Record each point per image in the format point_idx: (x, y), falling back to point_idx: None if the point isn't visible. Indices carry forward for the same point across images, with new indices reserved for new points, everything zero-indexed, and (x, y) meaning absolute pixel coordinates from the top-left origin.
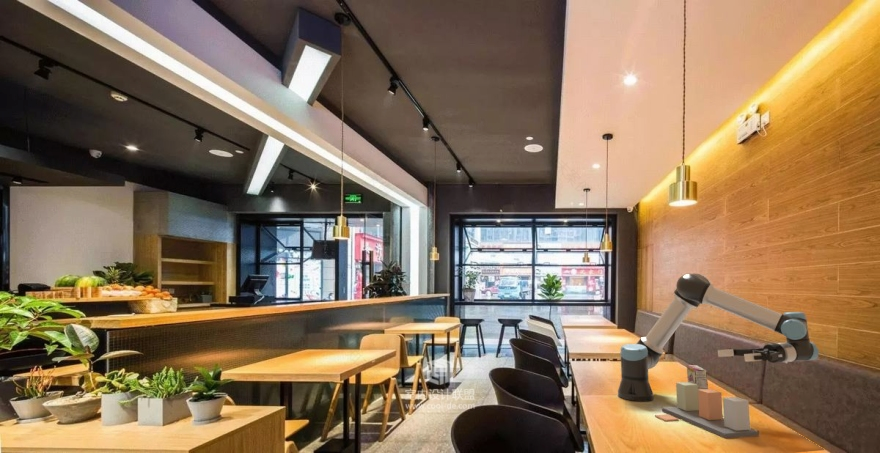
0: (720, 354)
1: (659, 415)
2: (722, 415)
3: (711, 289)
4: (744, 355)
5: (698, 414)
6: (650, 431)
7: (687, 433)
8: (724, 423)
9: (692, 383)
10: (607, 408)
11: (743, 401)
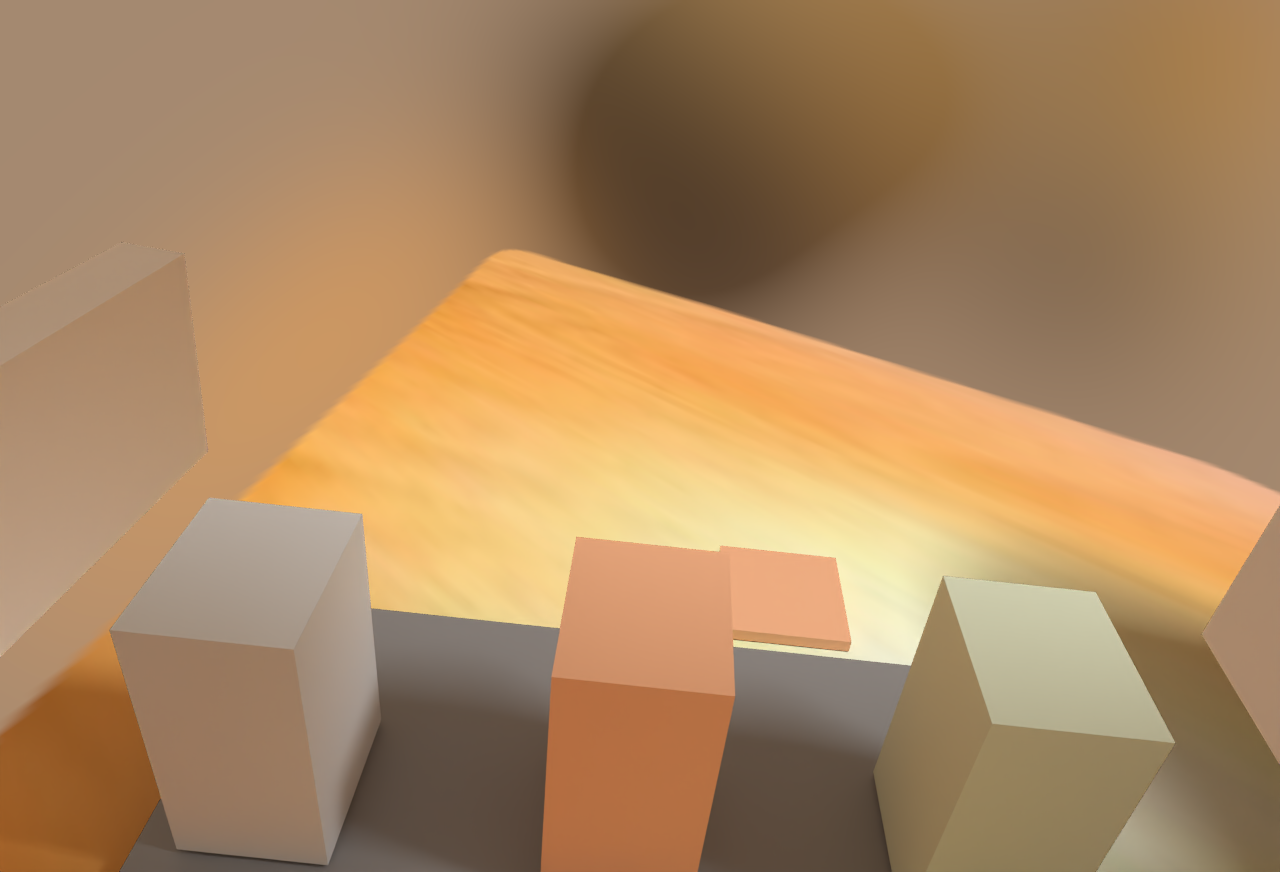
0: (1253, 598)
1: (825, 576)
2: (542, 862)
3: None
4: (175, 291)
5: (759, 806)
6: (573, 406)
7: (470, 510)
8: (377, 702)
9: (1077, 723)
10: (1023, 462)
11: (150, 583)
